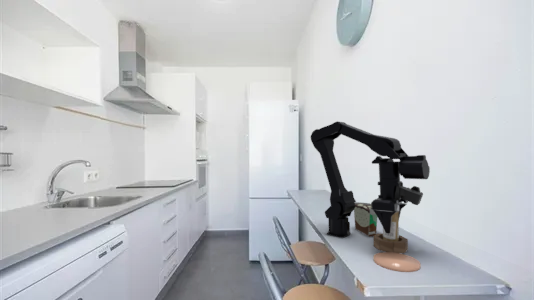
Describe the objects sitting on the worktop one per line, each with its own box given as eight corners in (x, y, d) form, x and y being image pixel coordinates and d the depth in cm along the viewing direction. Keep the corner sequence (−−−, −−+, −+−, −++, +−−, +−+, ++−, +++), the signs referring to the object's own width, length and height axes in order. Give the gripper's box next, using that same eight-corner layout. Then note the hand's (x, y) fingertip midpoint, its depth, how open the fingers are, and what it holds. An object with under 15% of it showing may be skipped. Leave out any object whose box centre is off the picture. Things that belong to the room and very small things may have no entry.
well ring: (370, 248, 78) (370, 238, 78) (379, 240, 85) (379, 231, 85) (403, 255, 72) (403, 244, 72) (409, 246, 79) (409, 236, 79)
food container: (387, 237, 88) (387, 208, 89) (371, 238, 87) (370, 208, 88) (367, 227, 100) (367, 201, 101) (353, 228, 99) (352, 202, 100)
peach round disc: (367, 264, 66) (367, 261, 66) (380, 251, 75) (380, 249, 75) (416, 277, 59) (416, 273, 60) (423, 261, 68) (423, 258, 68)
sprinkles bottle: (401, 248, 78) (402, 204, 78) (393, 251, 75) (393, 206, 75) (387, 244, 81) (388, 201, 81) (379, 246, 79) (379, 203, 79)
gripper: (413, 181, 66) (416, 242, 66) (424, 176, 81) (427, 226, 80) (369, 180, 73) (372, 235, 73) (386, 176, 88) (389, 222, 87)
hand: (392, 229), depth 78 cm, fingers open, 9 cm apart
